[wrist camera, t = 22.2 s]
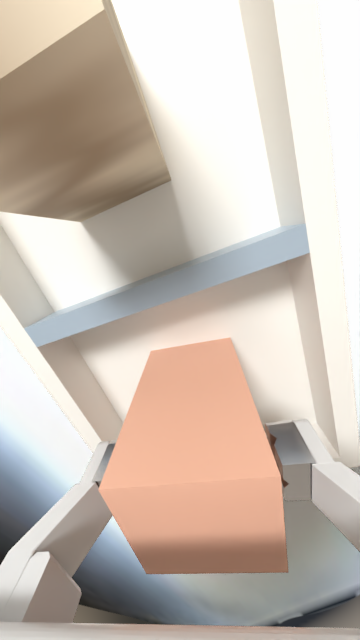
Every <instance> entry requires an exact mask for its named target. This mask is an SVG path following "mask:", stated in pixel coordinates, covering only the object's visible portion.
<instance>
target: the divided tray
mask: <svg viewBox="0 0 360 640" xmlns="http://www.w3.org/2000/svg"><path fill="white" fill-rule="evenodd" d="M112 3H113V6H114V9H115V12H116V14H117V17H118V20H119V23H120V26H121V29H122V32H123V35H124V37H125V40H126V43H127V47H128V50H129V53H130V56H131V59H132V62H133V65H134V68H135V71H136V74H137V77H138V80H139V83H140V86H141V89H142V92H143V95H144V98H145V101H146V104H147V107H148V110H149V113H150V116H151V119H152V122H153V125H154V128H155V131H156V134H157V137H158V140H159V143H160V147H161V150H162V153H163V156H164V159H165V162H166V165H167V168H168V171H169V174H170V177H171V181H169V182H167V183H165V184H162V185H160V186H158V187H156V188H154V189H152V190H149V191H147V192H145V193H143V194H141V195H139V196H136V197H134V198H132V199H130V200H128V201H126V202H123V203H121V204H119V205H117V206H115V207H113V208H110V209H108V210H106V211H104V212H102V213H100V214H97V215H95V216H93V217H91V218H89V219H87V220H84V221H82V222H75V221H68V220H60V219H52V218H45V217H37V216H30V215H22V214H15V213H7V212H0V327H1V328H2V330H3V331H4V332H5V334H6V335H7V337H8V338H9V339H10V341H11V342H12V343H13V345H14V346H15V347H16V349H17V350H18V352H19V353H20V354H21V356H22V357H23V358H24V360H25V361H26V362H27V364H28V365H29V367H30V368H31V369H32V371H33V372H34V373H35V375H36V376H37V377H38V379H39V380H40V382H41V383H42V384H43V386H44V387H45V388H46V390H47V391H48V392H49V394H50V395H51V397H52V398H53V399H54V401H55V402H56V403H57V405H58V406H59V407H60V409H61V410H62V412H63V413H64V414H65V416H66V417H67V418H68V420H69V421H70V422H71V424H72V425H73V427H74V428H75V429H76V431H77V432H78V433H79V435H80V436H81V438H82V439H83V440H84V442H85V443H86V444H87V446H88V447H89V448H90V450H91V451H92V453H94V451H95V449H96V446H97V445H98V444H99V443H100V442H103V441H112V440H117V439H118V436H119V434H120V431H121V428H122V426H123V423H124V420H125V418H126V415H127V413H128V410H129V407H130V405H131V402H132V399H133V397H134V394H135V391H136V389H137V386H138V383H139V381H140V378H141V376H142V373H143V370H144V368H145V365H146V362H147V360H148V357H149V354H150V352H151V351H153V350H159V349H164V348H170V347H176V346H182V345H188V344H194V343H200V342H206V341H212V340H218V339H223V338H229V337H230V338H231V340H232V343H233V346H234V349H235V351H236V354H237V357H238V360H239V362H240V365H241V368H242V371H243V373H244V376H245V379H246V382H247V384H248V387H249V390H250V393H251V395H252V398H253V401H254V404H255V406H256V409H257V412H258V414H259V417H260V420H261V423H262V425H263V428H264V431H265V423H272V422H279V421H287V420H291V421H292V420H298V419H307V420H308V421H309V422H310V424H311V425H312V427H313V428H314V430H315V431H316V433H317V435H318V436H319V438H320V439H321V441H322V442H323V444H324V446H325V447H326V449H327V450H328V452H329V453H330V455H331V457H332V458H333V460H334V461H335V462H341V463H342V464H344V465H345V466H347V467H348V468H354V467H360V443H359V432H358V422H357V411H356V401H355V390H354V380H353V369H352V359H351V348H350V338H349V327H348V317H347V306H346V296H345V285H344V275H343V264H342V254H341V243H340V233H339V222H338V212H337V201H336V191H335V180H334V170H333V159H332V149H331V138H330V128H329V117H328V107H327V96H326V86H325V75H324V65H323V54H322V44H321V33H320V23H319V12H318V2H317V0H112ZM265 434H266V431H265ZM266 436H267V434H266Z"/></svg>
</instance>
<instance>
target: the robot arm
mask: <svg viewBox="0 0 360 640" xmlns="http://www.w3.org/2000/svg"><path fill="white" fill-rule="evenodd" d="M265 431H266V434H267V439H268V442H269V445H270V447H271V450H272V453H273V456H274V458H275V461H276V464H277V467H278V469H279V472H280V475H281V483H282V493H283V496H284V499H285V501H294V500H312V502H313V503H314V504H315V505H316V506H317V507H318V508H319V510H320V511H321V512H322V513H323V514H324V515H325V516H326V517H327V518H328V519H329V520H330V521H331V522H332V523H333V524H334V525H335V526H336V527H337V528H338V530H339V531H340V532H341V533H342V534H343V535H344V536H345V537H346V538H347V539H348V540H349V541H350V542H351V543H352V544H353V545H354V546H355V547H356V548H357V550H358V551H359V552H360V475H358V474H357V473H355V472H354V471H353V470H351V469H350V468H348V467H347V466H345V465H344V464H342V463H341V462H335V461H334V460H333V458H332V457H331V455H330V453H329V452H328V450H327V449H326V447H325V446H324V444H323V442H322V441H321V439H320V438H319V436H318V435H317V433H316V431H315V430H314V428H313V427H312V425H311V424H310V422H309V421H308V420H307V419H298V420H292V421H291V420H287V421H279V422H272V423H265ZM116 442H117V440H112V441H103V442H100V443H99V444H98V445H97V446H96V449H95V451H94V453H93V455H92V457H91V459H90V461H89V463H88V466H87V468H86V470H85V472H84V474H83V476H82V478H81V481H80V483H79V484H75V485H74V486H73V487H72V488H71V489H70V490H69V491H68V492H67V493H66V494H65V495H64V496H63V497H62V498H61V499H60V500H59V501H58V502H57V503H56V504H55V505H54V506H53V507H52V508H51V509H50V510H49V511H48V512H47V513H46V514H45V515H44V516H43V517H42V518H41V519H40V520H39V521H38V522H37V523H36V524H35V525H34V526H33V527H32V528H31V529H30V530H29V531H28V532H27V533H26V534H25V535H24V536H23V537H22V538H21V539H20V540H19V541H18V542H17V543H16V544H15V545H14V546H13V547H12V548H11V549H10V550H9V552H8V553H7V555H6V557H5V558H4V560H3V562H2V564H1V565H0V640H360V628H320V627H318V628H317V627H266V626H210V625H155V624H100V623H94V624H93V623H73V620H74V617H75V614H76V610H77V607H78V604H79V601H80V597H81V589H80V587H79V586H78V585H77V584H76V583H75V581H74V580H73V579H72V576H73V575H74V573H75V572H76V570H77V569H78V567H79V566H80V564H81V563H82V561H83V560H84V558H85V556H86V555H87V553H88V552H89V550H90V549H91V547H92V546H93V544H94V543H95V541H96V540H97V538H98V537H99V535H100V534H101V532H102V531H103V529H104V528H105V526H106V525H107V523H108V522H109V520H110V519H111V517H112V513H111V511H110V509H109V508H108V506H107V504H106V503H105V501H104V499H103V497H102V496H101V494H100V492H99V490H98V489H99V486H100V484H101V481H102V478H103V476H104V473H105V471H106V468H107V465H108V463H109V460H110V457H111V455H112V452H113V449H114V447H115V444H116Z"/></svg>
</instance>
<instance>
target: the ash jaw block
mask: <svg viewBox="0 0 360 640" xmlns="http://www.w3.org/2000/svg"><path fill="white" fill-rule="evenodd" d="M169 181H171V177H170V174H169V171H168V168H167V165H166V162H165V159H164V156H163V153H162V150H161V147H160V143H159V140H158V137H157V134H156V131H155V128H154V125H153V122H152V119H151V116H150V113H149V110H148V107H147V104H146V101H145V98H144V95H143V92H142V89H141V86H140V83H139V80H138V77H137V74H136V71H135V68H134V65H133V62H132V59H131V56H130V53H129V50H128V47H127V43H126V40H125V37H124V35H123V32H122V29H121V26H120V23H119V20H118V17H117V14H116V12H115V9H114V6H113V3H112V0H0V212H7V213H15V214H22V215H30V216H37V217H45V218H52V219H60V220H68V221H75V222H82V221H84V220H87V219H89V218H91V217H93V216H95V215H97V214H100V213H102V212H104V211H106V210H108V209H110V208H113V207H115V206H117V205H119V204H121V203H123V202H126V201H128V200H130V199H132V198H134V197H136V196H139V195H141V194H143V193H145V192H147V191H149V190H152V189H154V188H156V187H158V186H160V185H162V184H165V183H167V182H169Z"/></svg>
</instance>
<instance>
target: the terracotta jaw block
mask: <svg viewBox="0 0 360 640" xmlns="http://www.w3.org/2000/svg"><path fill="white" fill-rule="evenodd" d="M98 490H99V492H100V494H101V496H102V497H103V499H104V501H105V503H106V504H107V506H108V508H109V509H110V511H111V513H112V515H113V516H114V518H115V520H116V522H117V523H118V525H119V527H120V529H121V530H122V532H123V534H124V535H125V537H126V539H127V541H128V542H129V544H130V546H131V548H132V549H133V551H134V553H135V555H136V556H137V558H138V560H139V562H140V563H141V565H142V567H143V568H144V570H145V572H146V574H197V573H277V572H288V561H287V548H286V535H285V522H284V509H283V496H282V483H281V475H280V472H279V469H278V467H277V464H276V461H275V458H274V456H273V453H272V450H271V447H270V445H269V442H268V439H267V436H266V434H265V431H264V428H263V425H262V423H261V420H260V417H259V414H258V412H257V409H256V406H255V404H254V401H253V398H252V395H251V393H250V390H249V387H248V384H247V382H246V379H245V376H244V373H243V371H242V368H241V365H240V362H239V360H238V357H237V354H236V351H235V349H234V346H233V343H232V340H231V338H230V337H229V338H223V339H218V340H212V341H206V342H200V343H194V344H188V345H182V346H176V347H170V348H164V349H159V350H153V351H151V352H150V354H149V357H148V360H147V362H146V365H145V368H144V370H143V373H142V376H141V378H140V381H139V383H138V386H137V389H136V391H135V394H134V397H133V399H132V402H131V405H130V407H129V410H128V413H127V415H126V418H125V420H124V423H123V426H122V428H121V431H120V434H119V436H118V439H117V442H116V444H115V447H114V449H113V452H112V455H111V457H110V460H109V463H108V465H107V468H106V471H105V473H104V476H103V478H102V481H101V484H100V486H99V489H98Z"/></svg>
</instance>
